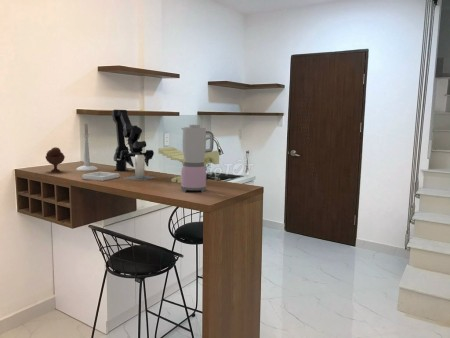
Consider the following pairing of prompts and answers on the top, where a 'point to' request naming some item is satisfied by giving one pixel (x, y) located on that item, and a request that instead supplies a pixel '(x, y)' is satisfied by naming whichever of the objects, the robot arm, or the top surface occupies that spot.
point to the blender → (195, 157)
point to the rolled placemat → (139, 166)
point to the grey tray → (100, 176)
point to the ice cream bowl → (55, 158)
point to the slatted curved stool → (178, 155)
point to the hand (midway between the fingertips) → (140, 166)
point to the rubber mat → (139, 178)
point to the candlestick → (86, 154)
